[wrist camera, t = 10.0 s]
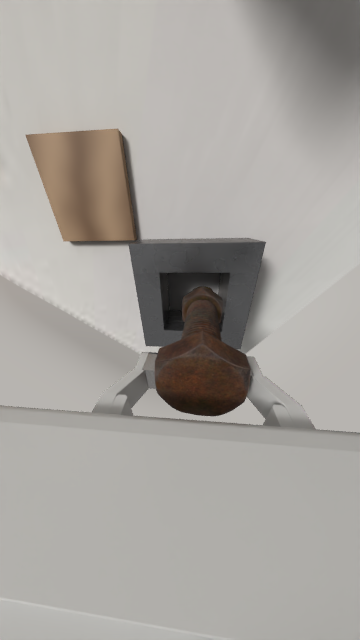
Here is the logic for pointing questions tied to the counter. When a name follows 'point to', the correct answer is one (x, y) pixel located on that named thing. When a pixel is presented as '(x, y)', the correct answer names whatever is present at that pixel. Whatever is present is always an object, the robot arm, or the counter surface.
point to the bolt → (202, 362)
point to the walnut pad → (86, 183)
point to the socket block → (195, 257)
